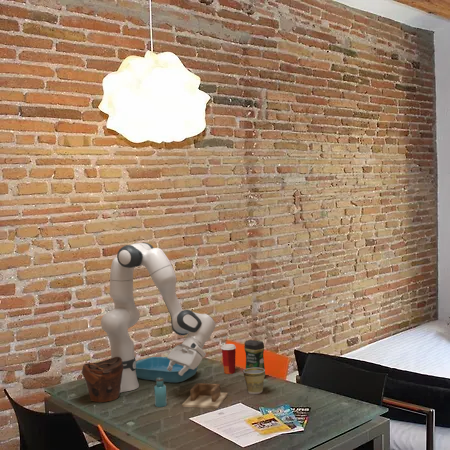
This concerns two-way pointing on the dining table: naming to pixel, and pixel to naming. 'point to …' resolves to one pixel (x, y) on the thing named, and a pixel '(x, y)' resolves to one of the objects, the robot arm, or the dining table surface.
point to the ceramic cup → (254, 379)
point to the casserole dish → (161, 370)
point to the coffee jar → (254, 354)
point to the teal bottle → (160, 393)
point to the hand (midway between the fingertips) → (174, 372)
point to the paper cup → (228, 358)
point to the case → (103, 379)
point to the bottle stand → (205, 396)
